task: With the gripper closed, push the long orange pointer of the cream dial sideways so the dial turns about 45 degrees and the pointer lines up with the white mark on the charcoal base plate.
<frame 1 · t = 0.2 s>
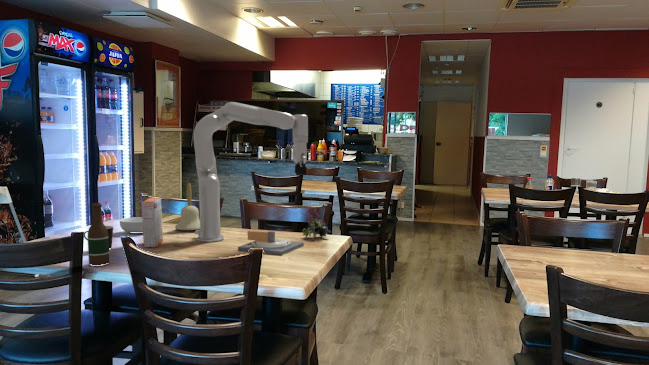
hand: (300, 174, 249), 31 cm above the table, tool pointing down, fingers open, 9 cm apart
coffee mug: (100, 250, 219), on the table
handbell: (190, 230, 265), on the table
dial base: (271, 247, 223), on the table
beer bottle: (99, 265, 194), on the table
dial: (266, 237, 223), point 5 cm above the table, hinge at 0.0°
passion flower: (316, 238, 243), on the table
cracker box: (153, 245, 230), on the table
cereal bowl: (137, 233, 258), on the table
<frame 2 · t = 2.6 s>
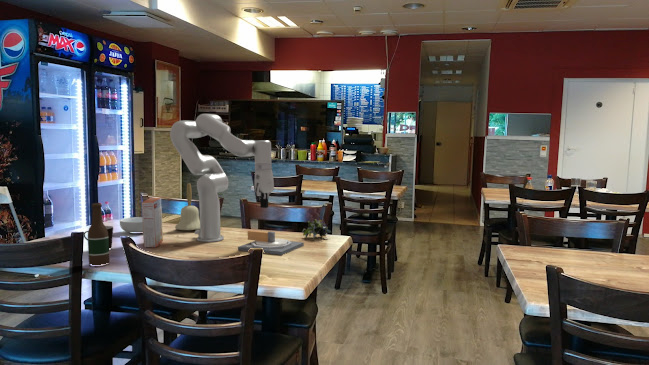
hand: (264, 207, 228), 17 cm above the table, tool pointing down, fingers closed
nothing on the table moved.
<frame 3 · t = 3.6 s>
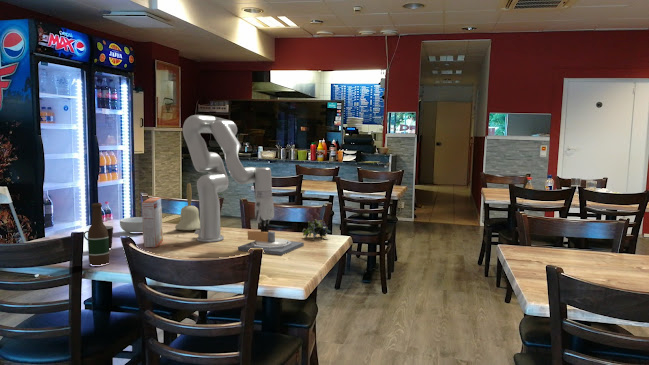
hand: (264, 234, 229), 5 cm above the table, tool pointing down, fingers closed
nothing on the table moved.
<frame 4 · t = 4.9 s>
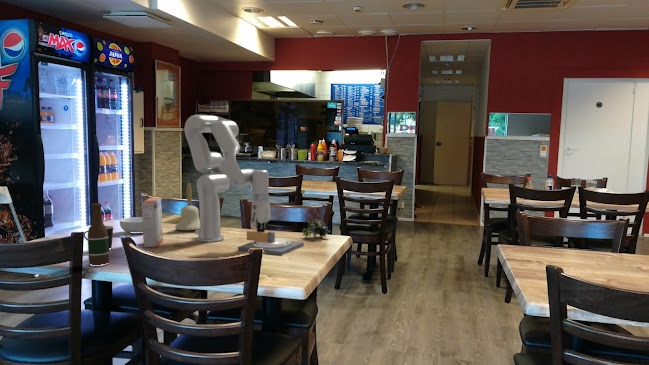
hand: (260, 236, 227), 4 cm above the table, tool pointing down, fingers closed
dial: (266, 237, 223), point 4 cm above the table, hinge at 4.5°, touching gripper
everything else where it was.
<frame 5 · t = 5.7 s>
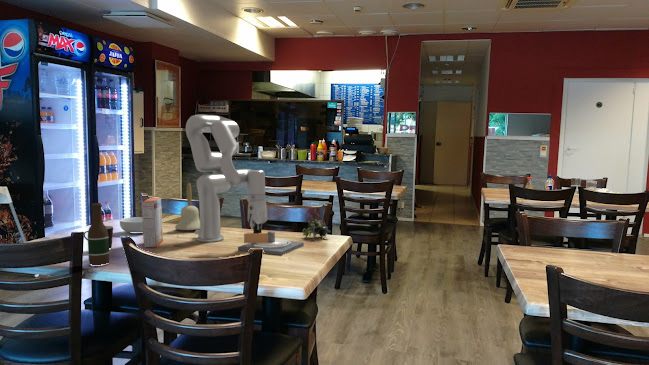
hand: (257, 238, 224), 4 cm above the table, tool pointing down, fingers closed
dial: (265, 238, 222), point 4 cm above the table, hinge at 33.9°, touching gripper
everything else where it was.
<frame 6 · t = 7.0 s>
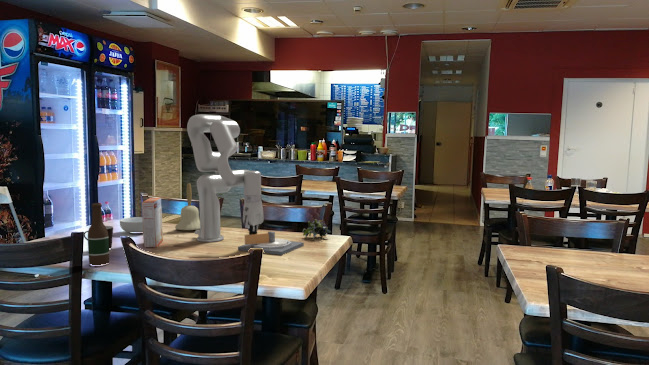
hand: (253, 239, 222), 4 cm above the table, tool pointing down, fingers closed
dial: (266, 238, 221), point 4 cm above the table, hinge at 50.2°, touching gripper
everything else where it was.
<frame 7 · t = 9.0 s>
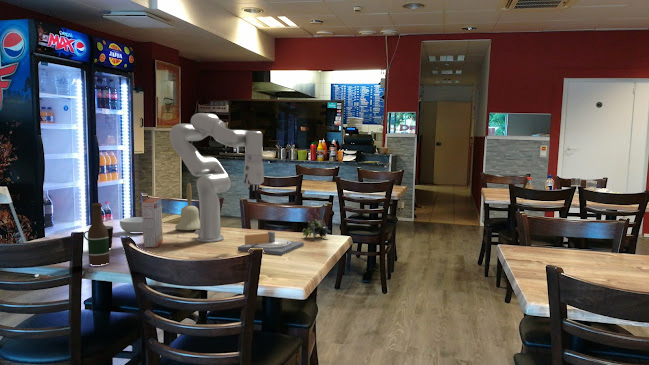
hand: (252, 199, 225), 21 cm above the table, tool pointing down, fingers closed
dial: (266, 238, 221), point 4 cm above the table, hinge at 50.4°
everything else where it was.
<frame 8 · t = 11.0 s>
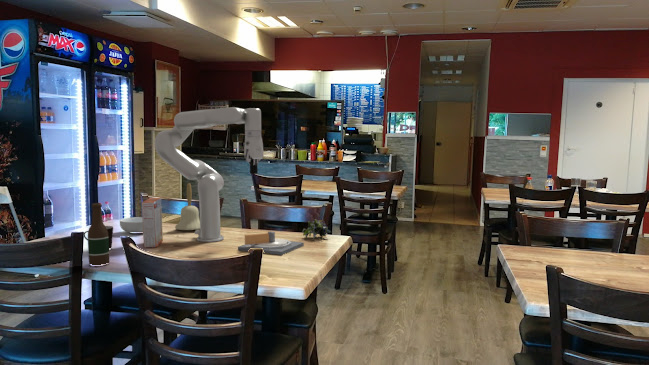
hand: (253, 173, 236), 32 cm above the table, tool pointing down, fingers closed
nothing on the table moved.
at the end: dial at +50° (first picture: +0°) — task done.
